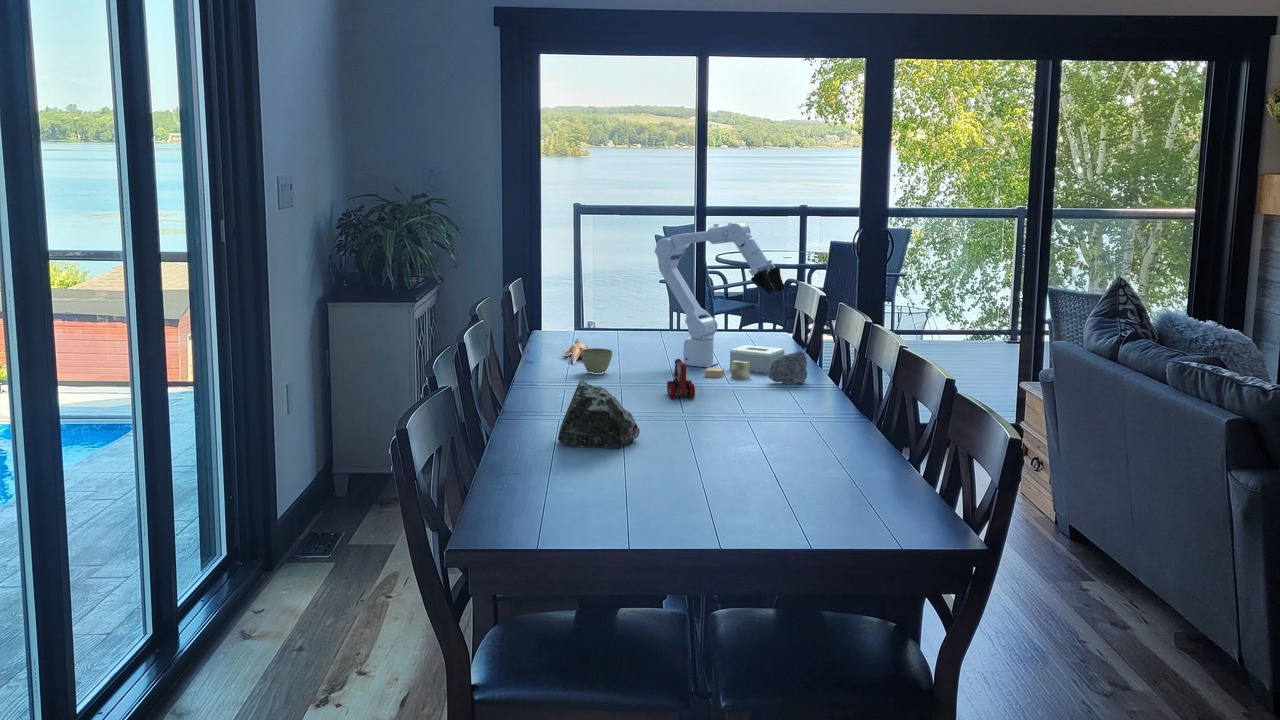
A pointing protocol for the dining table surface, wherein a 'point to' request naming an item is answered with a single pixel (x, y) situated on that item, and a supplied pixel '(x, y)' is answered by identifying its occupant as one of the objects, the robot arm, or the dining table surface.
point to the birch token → (740, 369)
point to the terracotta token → (714, 372)
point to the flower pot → (596, 359)
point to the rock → (789, 368)
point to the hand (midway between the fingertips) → (777, 291)
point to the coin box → (756, 356)
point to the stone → (597, 420)
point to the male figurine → (576, 349)
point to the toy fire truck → (680, 382)
